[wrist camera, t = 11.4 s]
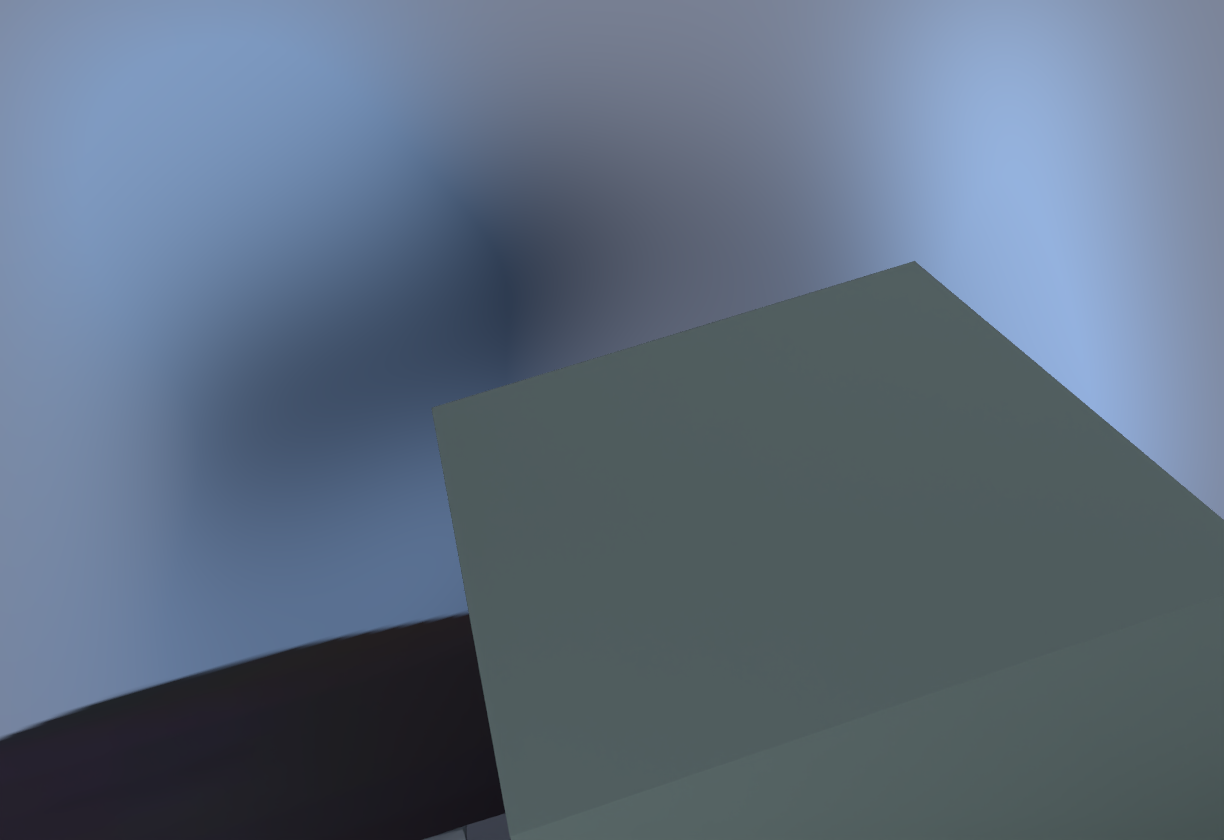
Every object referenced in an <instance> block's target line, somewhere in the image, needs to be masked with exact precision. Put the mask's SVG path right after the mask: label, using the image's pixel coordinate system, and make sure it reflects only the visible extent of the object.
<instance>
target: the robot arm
mask: <svg viewBox="0 0 1224 840" xmlns="http://www.w3.org/2000/svg"><path fill="white" fill-rule="evenodd" d="M424 840H511V838H510V835H509V829H508V824H507V818H506V813H505V814H502V815H499V816H495V817H492V818H489V819H486V820H482V821H479V822H476V823H473V824H469V825H466V826H463V827H460V828H457V829H454V830H451V831H448V832H445V833H442V834H439V835H436V836H433V837H430V838H427V839H424Z"/></svg>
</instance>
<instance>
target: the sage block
mask: <svg viewBox="0 0 1224 840" xmlns="http://www.w3.org/2000/svg"><path fill="white" fill-rule="evenodd" d="M432 413H433V419H434V424H435V430H436V435H437V441H438V446H439V452H440V457H441V463H442V468H443V474H444V479H445V485H446V489H447V495H448V501H449V507H450V512H451V517H452V523H453V528H454V533H455V539H456V545H457V550H458V556H459V561H460V567H461V572H462V578H463V583H464V589H465V594H466V600H467V605H468V610H469V616H470V621H471V627H472V632H473V638H474V643H475V649H476V654H477V660H478V665H479V671H480V676H481V682H482V687H483V693H484V698H485V703H486V709H487V714H488V720H489V725H490V731H491V736H492V742H493V747H494V753H495V758H496V764H497V769H498V775H499V780H500V785H501V791H502V796H503V802H504V807H505V813H506V818H507V824H508V829H509V835H510V838H511V840H1224V520H1223V519H1222V518H1221V517H1219V516H1218V515H1217V514H1216V513H1215V512H1213V511H1212V510H1211V509H1210V508H1209V507H1208V506H1206V505H1205V504H1204V503H1203V502H1202V501H1200V500H1199V499H1198V498H1197V497H1196V496H1194V495H1193V494H1192V493H1191V492H1189V491H1188V490H1187V489H1186V488H1185V487H1184V486H1182V485H1181V484H1180V483H1179V482H1178V481H1176V480H1175V479H1174V478H1173V477H1172V476H1170V475H1169V474H1168V473H1167V472H1166V471H1164V470H1163V469H1162V468H1161V467H1160V466H1159V465H1157V464H1156V463H1155V462H1154V461H1153V460H1151V459H1150V458H1149V457H1148V456H1147V455H1145V454H1144V453H1143V452H1142V451H1141V450H1139V449H1138V448H1137V447H1136V446H1135V445H1134V444H1132V443H1131V442H1130V441H1129V440H1128V439H1126V438H1125V437H1124V436H1123V435H1122V434H1120V433H1119V432H1118V431H1117V430H1116V429H1114V428H1113V427H1112V426H1111V425H1110V424H1108V423H1107V422H1106V421H1105V420H1104V419H1102V418H1101V417H1100V416H1099V415H1098V414H1096V413H1095V412H1094V411H1093V410H1092V409H1090V408H1089V407H1088V406H1087V405H1086V404H1085V403H1083V402H1082V401H1081V400H1080V399H1079V398H1077V397H1076V396H1075V395H1074V394H1073V393H1071V392H1070V391H1069V390H1068V389H1067V388H1065V387H1064V386H1063V385H1062V384H1061V383H1059V382H1058V381H1057V380H1056V379H1055V378H1054V377H1052V376H1051V375H1050V374H1048V373H1047V372H1046V371H1045V370H1044V369H1043V368H1042V367H1040V366H1039V365H1038V364H1037V363H1036V362H1034V361H1033V360H1032V359H1031V358H1030V357H1028V356H1027V355H1026V354H1025V353H1024V352H1022V351H1021V350H1020V349H1019V348H1018V347H1016V346H1015V345H1014V344H1013V343H1012V342H1011V341H1009V340H1008V339H1007V338H1006V337H1005V336H1003V335H1002V334H1001V333H1000V332H999V331H997V330H996V329H995V328H994V327H993V326H991V325H990V324H989V323H988V322H987V321H985V320H984V319H983V318H982V317H981V316H979V315H978V314H977V313H976V312H975V311H974V310H972V309H971V308H970V307H969V306H968V305H966V304H965V303H964V302H962V300H960V299H959V298H958V297H957V296H956V295H954V294H953V293H952V292H951V291H949V290H948V289H947V288H946V287H945V286H944V285H942V284H941V283H940V282H939V281H938V280H936V279H935V278H934V277H933V276H932V275H931V274H929V273H928V272H927V271H926V270H925V269H923V268H922V267H921V266H920V265H919V264H917V263H916V262H915V261H913V262H910V263H907V264H903V265H901V266H897V267H894V268H890V269H887V270H884V271H880V272H878V273H874V274H871V275H868V276H864V277H861V278H857V279H855V280H851V281H847V282H845V283H841V284H838V285H834V286H831V287H828V288H825V289H821V290H818V291H815V292H811V293H808V294H805V295H802V296H798V297H795V298H792V299H788V300H785V301H782V302H778V303H775V304H772V305H768V306H765V307H762V308H759V309H755V310H752V311H749V312H745V313H742V314H739V315H736V316H732V317H729V318H726V319H722V320H719V321H716V322H713V323H709V324H706V325H703V326H699V327H696V328H693V329H689V330H686V331H683V332H680V333H676V334H673V335H670V336H667V337H663V338H660V339H657V340H653V341H650V342H647V343H644V344H640V345H637V346H634V347H630V348H627V349H624V350H620V351H617V352H614V353H610V354H607V355H604V356H601V357H597V358H594V359H591V360H587V361H584V362H581V363H578V364H574V365H571V366H568V367H564V368H561V369H558V370H555V371H551V372H548V373H545V374H542V375H538V376H535V377H531V378H529V379H525V380H522V381H519V382H515V383H512V384H508V385H505V386H502V387H499V388H495V389H492V390H489V391H486V392H482V393H479V394H476V395H472V396H469V397H466V398H463V399H459V400H456V401H452V402H449V403H446V404H443V405H439V406H436V407H433V408H432Z"/></svg>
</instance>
